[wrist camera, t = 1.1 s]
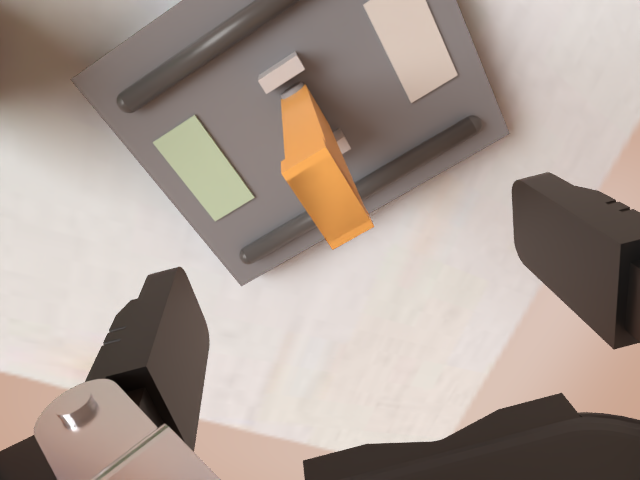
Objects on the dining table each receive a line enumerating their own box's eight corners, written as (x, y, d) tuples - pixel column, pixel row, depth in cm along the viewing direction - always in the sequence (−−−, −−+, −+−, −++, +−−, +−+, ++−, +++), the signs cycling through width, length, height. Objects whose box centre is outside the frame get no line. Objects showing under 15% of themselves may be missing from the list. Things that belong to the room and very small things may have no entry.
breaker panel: (384, -138, 25) (406, -163, 21) (493, 123, 32) (524, 142, 28) (86, 72, 28) (55, 85, 24) (243, 267, 35) (239, 302, 31)
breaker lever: (301, 77, 27) (325, 146, 14) (330, 125, 28) (374, 226, 16) (277, 92, 27) (281, 173, 15) (307, 140, 28) (332, 249, 16)
